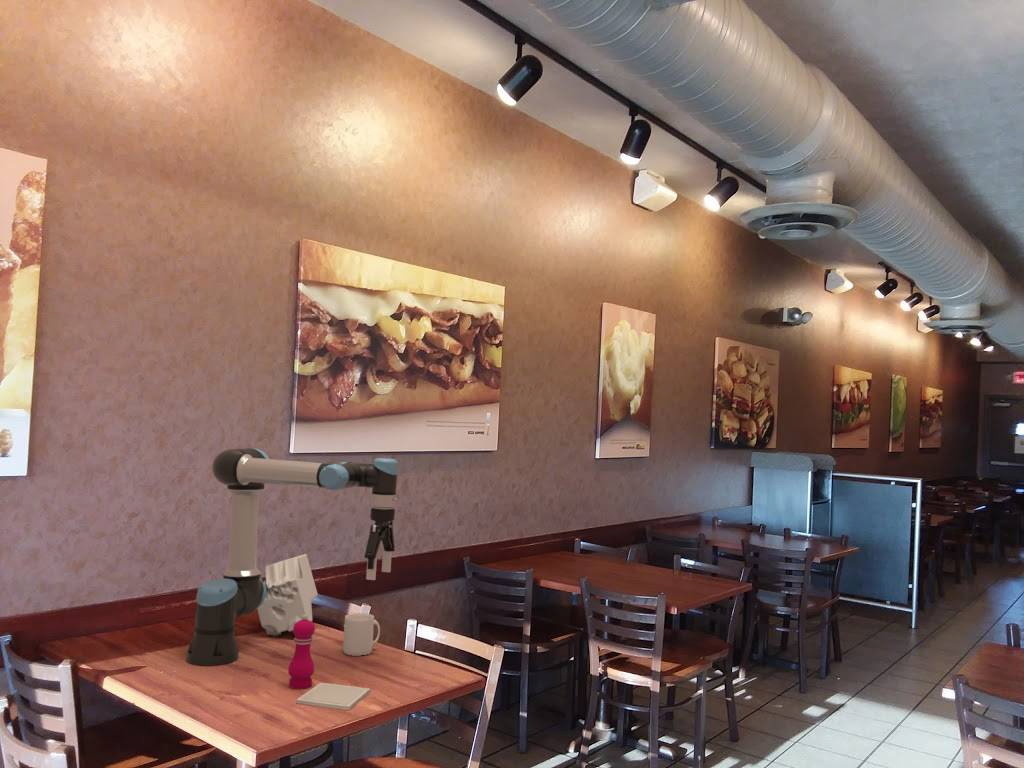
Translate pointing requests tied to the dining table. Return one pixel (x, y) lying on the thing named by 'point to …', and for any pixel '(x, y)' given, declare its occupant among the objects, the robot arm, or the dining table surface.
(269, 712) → the dining table surface
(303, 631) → the pepper mill
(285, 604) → the white sculpture
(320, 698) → the plate
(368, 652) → the mug
